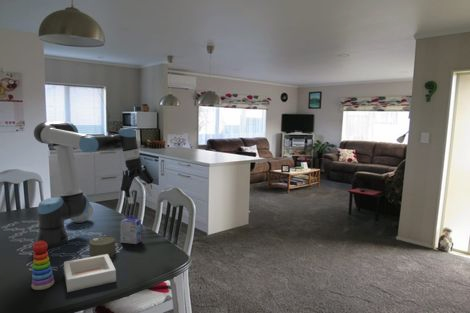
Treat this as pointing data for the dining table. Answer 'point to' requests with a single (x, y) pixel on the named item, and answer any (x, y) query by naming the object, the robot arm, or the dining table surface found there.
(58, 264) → the dining table surface
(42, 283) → the stacking toy
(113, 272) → the walled box
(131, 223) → the ink cartridge box
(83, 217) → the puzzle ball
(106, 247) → the can
